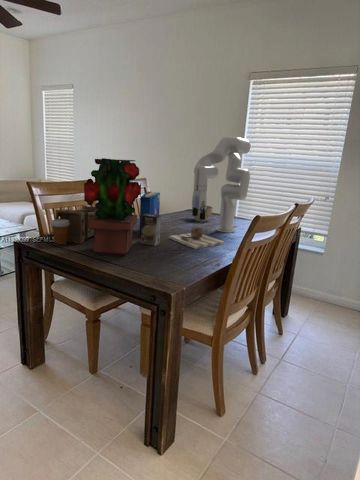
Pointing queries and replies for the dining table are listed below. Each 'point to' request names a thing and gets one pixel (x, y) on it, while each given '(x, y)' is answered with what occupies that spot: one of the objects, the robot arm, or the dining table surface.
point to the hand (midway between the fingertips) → (198, 217)
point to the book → (149, 205)
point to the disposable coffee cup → (60, 230)
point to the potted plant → (113, 205)
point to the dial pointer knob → (195, 233)
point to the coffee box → (150, 229)
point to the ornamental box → (78, 223)
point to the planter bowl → (207, 214)
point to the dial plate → (196, 241)
